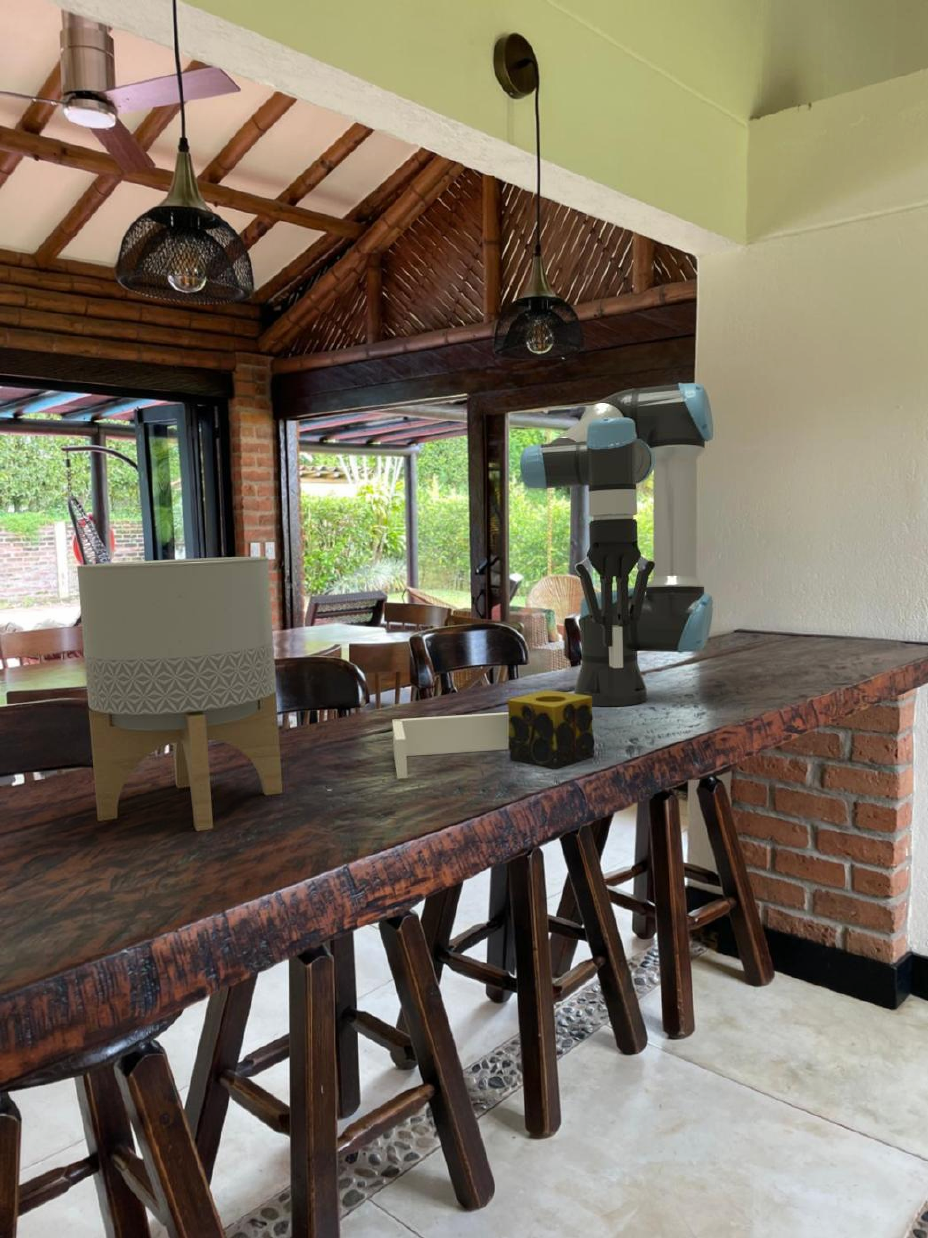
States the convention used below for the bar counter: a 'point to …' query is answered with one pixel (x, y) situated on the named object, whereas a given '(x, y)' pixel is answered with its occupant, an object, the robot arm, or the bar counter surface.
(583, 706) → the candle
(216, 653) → the planter
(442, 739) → the white angular piece
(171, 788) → the bar counter surface
